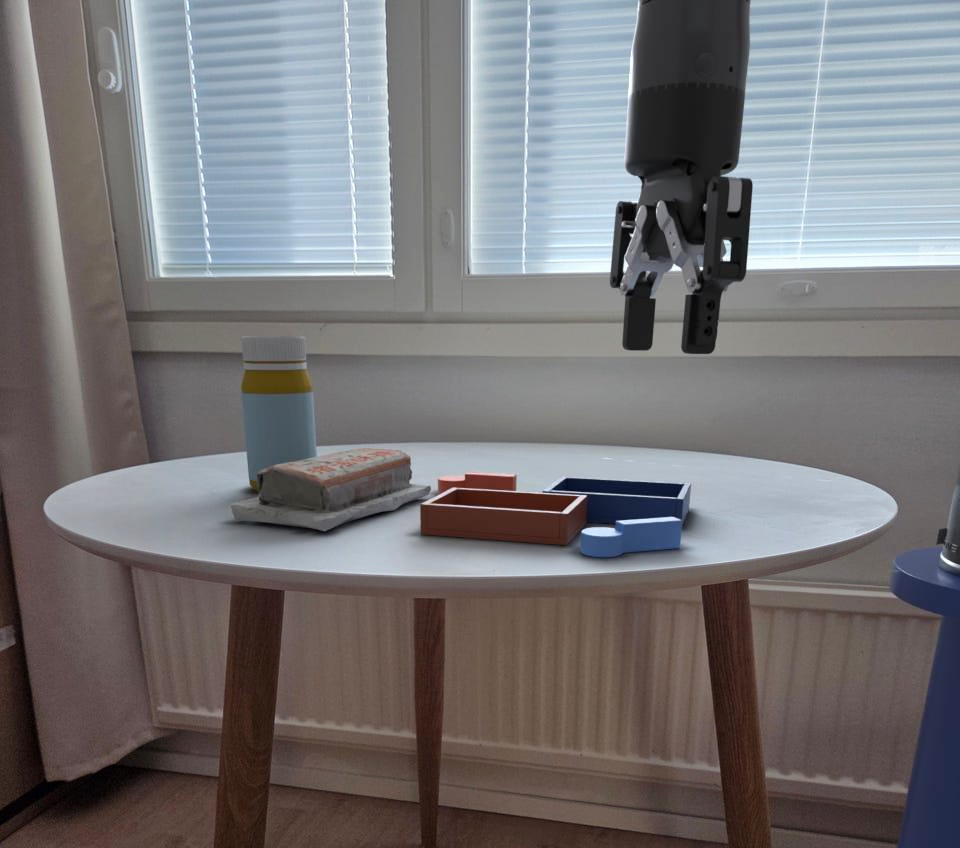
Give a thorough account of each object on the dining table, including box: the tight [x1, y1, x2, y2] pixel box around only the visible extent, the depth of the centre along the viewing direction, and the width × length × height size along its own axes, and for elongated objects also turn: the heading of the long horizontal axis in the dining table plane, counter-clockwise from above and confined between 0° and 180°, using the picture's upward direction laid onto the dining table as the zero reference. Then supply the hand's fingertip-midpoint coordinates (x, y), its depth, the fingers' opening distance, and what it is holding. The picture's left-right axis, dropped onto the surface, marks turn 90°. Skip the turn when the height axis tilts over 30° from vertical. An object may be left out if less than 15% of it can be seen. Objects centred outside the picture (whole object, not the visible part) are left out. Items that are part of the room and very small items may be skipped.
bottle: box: [240, 335, 318, 493], centre depth 88 cm, size 7×7×15 cm
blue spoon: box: [579, 517, 683, 558], centre depth 66 cm, size 8×3×2 cm, turn 109°
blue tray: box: [541, 476, 692, 526], centre depth 79 cm, size 12×8×2 cm
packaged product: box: [230, 447, 432, 532], centre depth 80 cm, size 18×5×10 cm
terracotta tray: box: [419, 488, 587, 546], centre depth 73 cm, size 12×8×2 cm
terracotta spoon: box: [437, 471, 517, 495], centre depth 87 cm, size 8×3×2 cm, turn 73°
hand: (665, 352), depth 63 cm, fingers open, 8 cm apart
